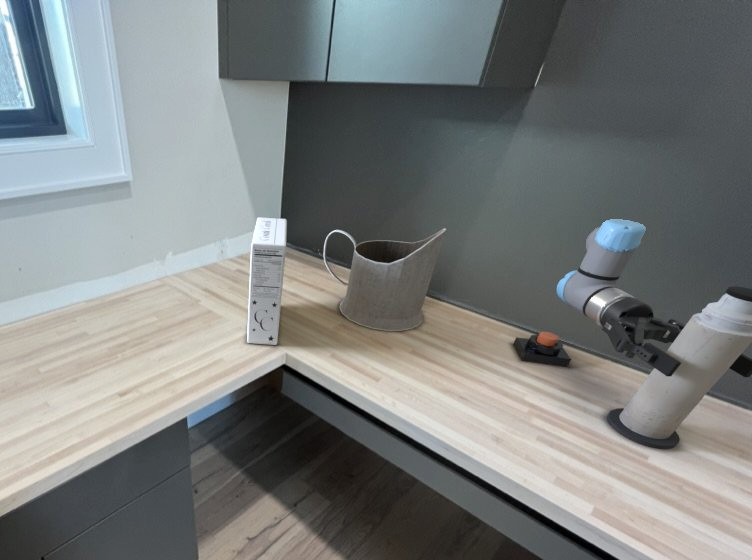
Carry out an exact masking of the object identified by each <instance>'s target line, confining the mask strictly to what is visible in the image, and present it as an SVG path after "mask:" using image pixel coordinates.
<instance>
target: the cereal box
mask: <svg viewBox="0 0 752 560" xmlns="http://www.w3.org/2000/svg"><path fill="white" fill-rule="evenodd" d="M287 227H288V220H287V219H286V218H275V217H274V218H273V217H257V218H256V223H255V227H254V231H253V236H252V239H251V240H252V241H251V244H250V267H249V286H248V287H249V289H248V290H249V291H248V310H247V333H246V334H247V335H246V336H247V337H246V338H247V339H246V343H248V344H255V345H256V344H258V345H273V346H277V345H278V339H279V329H280V317H281V308H282V307H281V306H282V296H283V284H284V276H285V274H284V273H285V265H286V264H285V263H286V255H287V254H286V252H287V233H288V232H287V229H288V228H287Z"/></svg>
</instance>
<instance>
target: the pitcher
mask: <svg viewBox="0 0 752 560" xmlns="http://www.w3.org/2000/svg"><path fill="white" fill-rule="evenodd" d="M446 232H447V228H442V229H440V230H439V231H438V232H436V233H434V234H432V235H430V236H429V237H427V238H424V239H422V240H418V241H415V242H407V241H398V240H388V239H387V240H384V239H383V240H381V239H380V240H379V239H376V240H367V241H363V242H359V243H357V242H356V239H355V238H354V237H353V236H352V235H351V234H350V233H348V232H346V231H344V230H342V229H334V230H332V231H331V232H329V233H328V234H327V236H326V238H325V240H324V245H323V262H324V264H325V267H326V269H327V271H328V272H329V273H330V275H331V276H332V277H333V278H334V279H335V280H336V281H337V282H339V284H341V285H343V286H347V288H346V293H345V296H344V297H343V299H342V300H341V301H340V305H339V310H340V312H341V314H342V315H343V316H344V317H345V318H347V319H348V320H349V321H351V322H353V323H355V324H357V325H360V326H362V327H366V328H368V329H372V330H378V331H386V332H401V331H402V332H403V331H409V330H412V329H414V328H417V327H418V326H420V325H421V324H422V322H423V321H424V319H423V311H422V309H423V307H424V303H425V300H426V297H427V294H428V290H429V287H430V284H431V281H432V277H433V274H434V271H435V267H436V265H437V261H438V258H439V255H440V252H441V248H442V245H443V242H444V239H445V236H446ZM334 233H340V234H343V235H345V236H346V237H347V238H349V239H350V241H351V242H352V244H353V247H354V251H353V255H352V261H351V267H350V273H349V277H348V281H347V282H345V281H343V280H341V279H340V278H339V277H338V276H337V275H336V274H335V273H334V271H333V270H332V268H331V267H330V265H329V263H328V259H327V245H328V241H329V239H330V236H331V235H332V234H334Z"/></svg>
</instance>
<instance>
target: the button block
mask: <svg viewBox="0 0 752 560" xmlns="http://www.w3.org/2000/svg"><path fill="white" fill-rule="evenodd" d="M538 336H539V333H538V334H531V335H530V337H528V338H525V337H515V339H514V341H513V344H512V346H513V348H514V350H515V351H516V353H517V355H518V356H519V359H520V361H522V362H528V363H536V364H541V365H550V366H555V367H564V368H568V366H569V365H570V363H571V362H572V358H571V357H570V355H569V354H568V352H567V351H566V350H565V348H564V345H563V343H562V342H561V341H560V340H558V341H557V343H556V345H555V346H553V347H552V346H545V345H542V344H540V343H538V342H537V341H536V340H537V338H538Z"/></svg>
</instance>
